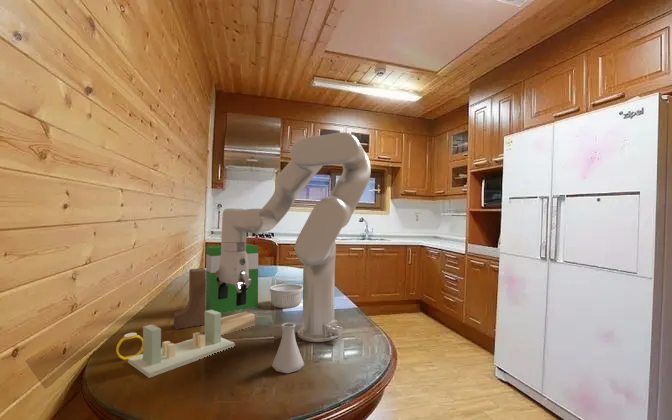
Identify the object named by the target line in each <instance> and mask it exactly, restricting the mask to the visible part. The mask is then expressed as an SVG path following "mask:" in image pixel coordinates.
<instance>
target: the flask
mask: <svg viewBox="0 0 672 420" xmlns="http://www.w3.org/2000/svg"><path fill="white" fill-rule="evenodd" d="M280 327H281V328H282V333H281V340H280V343H279V345H278V346H279V347H278V349H277V352H276V355H275V357H274V360H273V362H272V364H271V368H273V369H274V370H275V371H276V372H279V373H284V374H290V373H293V372H298V371H300V370H301V369H302V368H303V367H304V366H305V362H304V359H303V357H302V354H301V353H300V349H299V347H298V344H297V341H296V335H295V327H296V324H295V322H286V323H285V322H284V323H283V324H281V325H280Z"/></svg>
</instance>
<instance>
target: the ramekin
mask: <svg viewBox="0 0 672 420" xmlns="http://www.w3.org/2000/svg"><path fill="white" fill-rule="evenodd" d="M269 291H270V299H271V304H272V306H274V307H276V308H279V309H280V308H281V309H289V308H290V309H291V308H295V307H298V306H300V304H302V303H301V302H302V300H303V285H301V284H297V283H281V284H280V283H279V284H275V285H271V286H270V287H269Z"/></svg>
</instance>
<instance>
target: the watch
mask: <svg viewBox="0 0 672 420" xmlns="http://www.w3.org/2000/svg"><path fill="white" fill-rule="evenodd" d="M135 338H137V339H139V340H141V347H140V349H139V351H138V352H137V353H136V354H132V355H126V356H124V355H122V354H120V352H119V350H120V346H121V345H122V343H123V342H124V341H127V340H131V339H135ZM115 351H116V355H117V357H118V358H119V359H121V360H123V361H126V360H128V358H131V357H134V356H138V355H141V354H143V336H141V335H139V334H138V333H137V332H128V333H126V334H124V335H123V337H122V338H121V339H119V341H118V343H116V349H115Z"/></svg>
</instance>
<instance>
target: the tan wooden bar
mask: <svg viewBox="0 0 672 420" xmlns="http://www.w3.org/2000/svg"><path fill="white" fill-rule="evenodd" d="M255 325H256V315H255V314H254V313H251V312H249V311H243V312H238V313H235V314H231V315H227V316H223V317H221V335H223V336H225V335H224V334H227V335H229V334H228V333H230V334H232V333H231V332H233V333H235V332H234V331H237V332H239V331H238V330H240V331H242V330H241V329H244V330H246V329H245V328H247V329H249V328H248V327H250V328H252V327H251V326H254V327H255Z"/></svg>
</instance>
